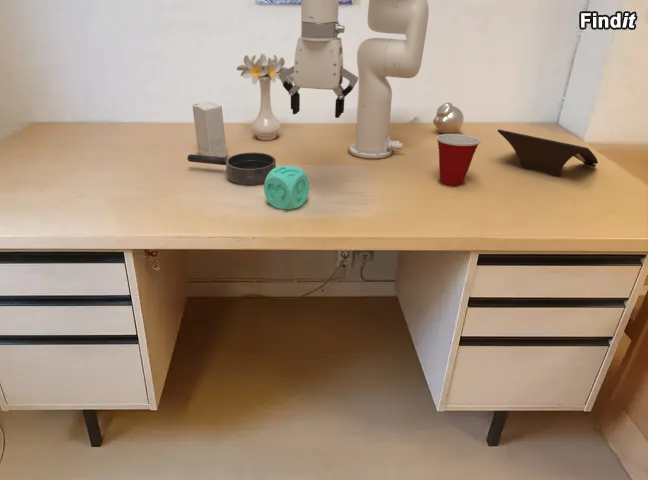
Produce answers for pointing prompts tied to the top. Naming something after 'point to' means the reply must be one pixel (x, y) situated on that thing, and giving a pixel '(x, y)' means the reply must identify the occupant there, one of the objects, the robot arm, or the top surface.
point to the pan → (249, 168)
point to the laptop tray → (546, 152)
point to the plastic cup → (455, 157)
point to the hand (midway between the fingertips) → (316, 114)
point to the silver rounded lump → (448, 119)
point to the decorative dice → (286, 187)
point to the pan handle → (207, 159)
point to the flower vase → (264, 92)
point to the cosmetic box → (209, 129)
